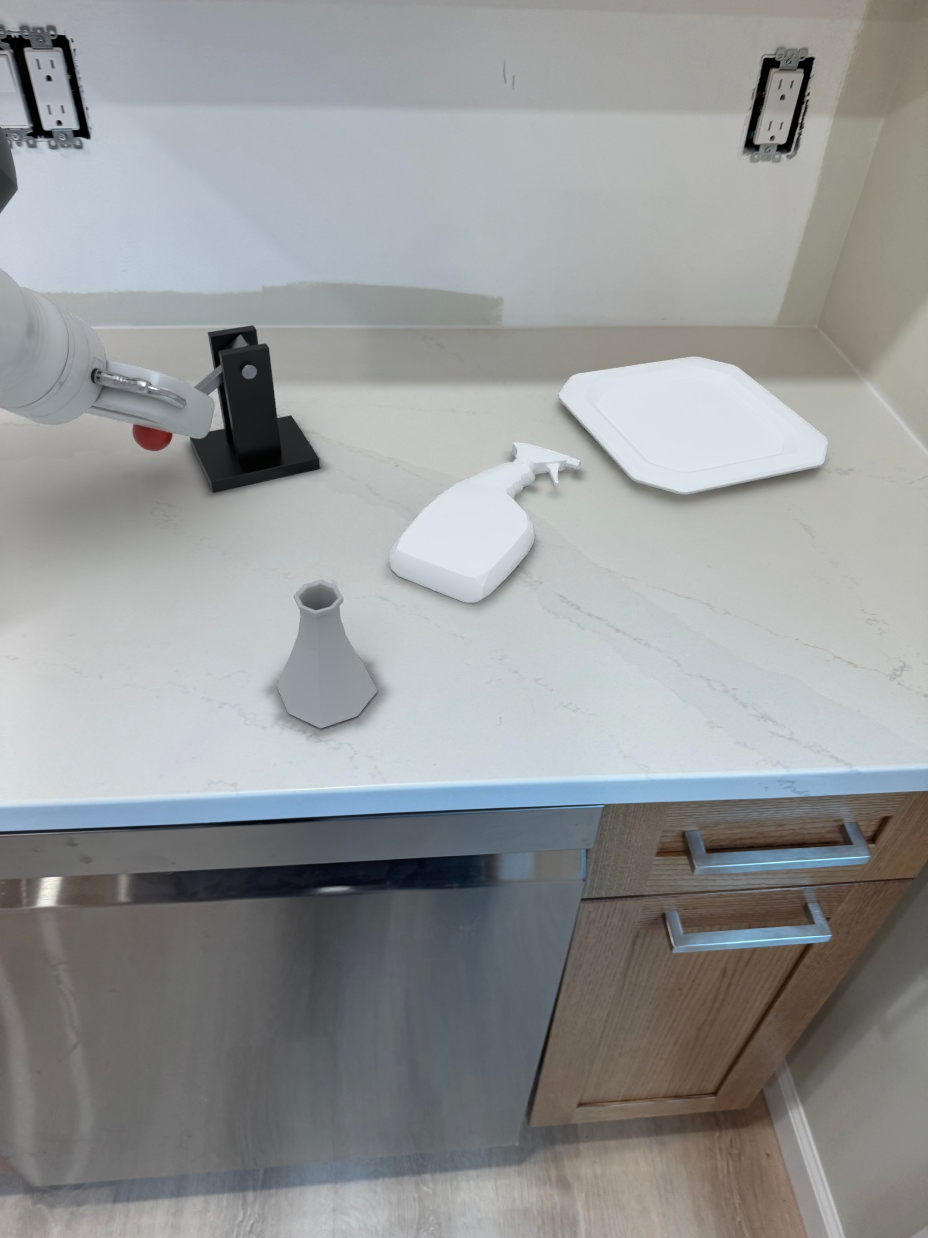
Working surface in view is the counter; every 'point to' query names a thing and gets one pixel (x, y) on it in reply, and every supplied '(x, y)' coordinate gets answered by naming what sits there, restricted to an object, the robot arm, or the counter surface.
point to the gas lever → (162, 439)
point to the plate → (691, 424)
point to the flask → (323, 662)
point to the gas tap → (249, 420)
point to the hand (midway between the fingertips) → (143, 414)
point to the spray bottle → (475, 528)
